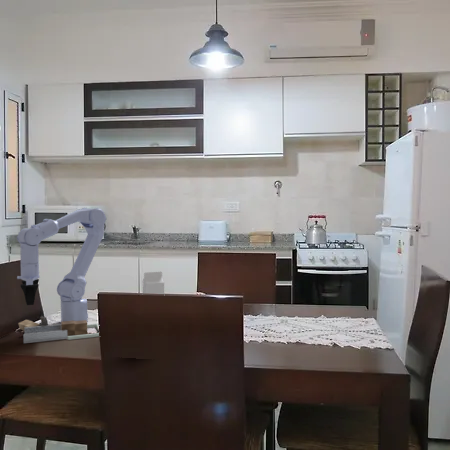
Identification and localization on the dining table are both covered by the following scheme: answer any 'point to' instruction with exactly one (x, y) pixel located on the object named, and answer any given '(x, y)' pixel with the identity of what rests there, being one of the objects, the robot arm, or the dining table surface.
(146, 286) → the milk
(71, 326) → the walnut block
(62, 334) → the silver metal tray
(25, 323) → the tan block
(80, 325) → the walnut block
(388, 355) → the dining table surface
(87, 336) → the tray
